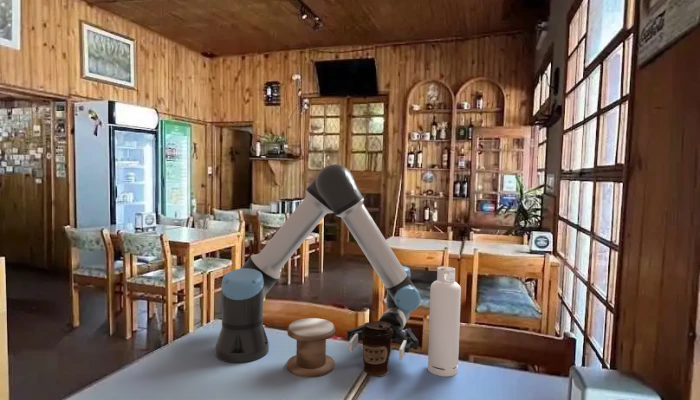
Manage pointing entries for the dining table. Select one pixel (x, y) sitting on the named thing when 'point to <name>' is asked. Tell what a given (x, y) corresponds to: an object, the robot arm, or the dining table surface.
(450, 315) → the bottle
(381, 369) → the coffee cup
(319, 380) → the dining table surface
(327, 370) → the cup pedestal
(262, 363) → the dining table surface
